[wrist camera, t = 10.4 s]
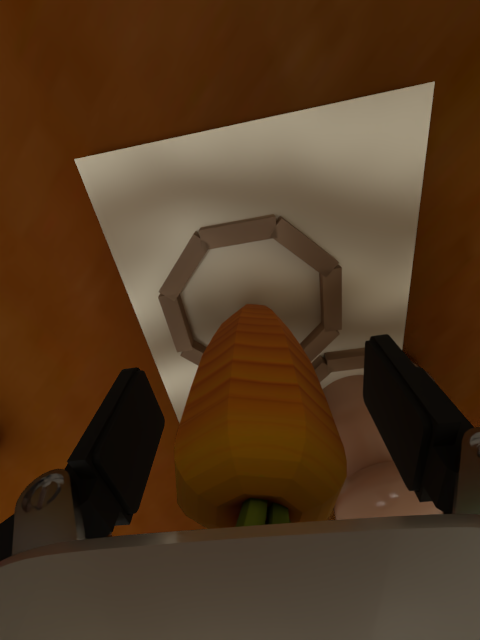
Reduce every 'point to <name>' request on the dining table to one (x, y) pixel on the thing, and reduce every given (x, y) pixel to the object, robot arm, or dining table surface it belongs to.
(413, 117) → the stand
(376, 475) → the pink lidded jar
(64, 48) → the dining table surface
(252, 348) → the carrot
